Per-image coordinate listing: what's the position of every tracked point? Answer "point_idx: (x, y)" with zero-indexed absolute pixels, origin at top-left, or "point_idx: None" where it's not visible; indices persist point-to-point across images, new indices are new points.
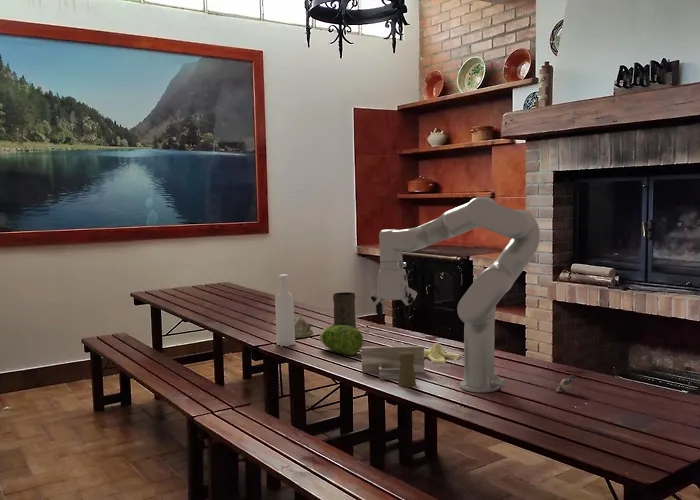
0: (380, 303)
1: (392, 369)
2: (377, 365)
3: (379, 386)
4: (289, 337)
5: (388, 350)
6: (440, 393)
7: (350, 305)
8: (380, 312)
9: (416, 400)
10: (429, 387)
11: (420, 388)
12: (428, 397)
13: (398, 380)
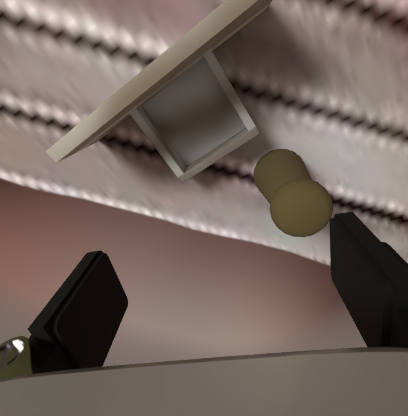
0: (59, 360)
1: (216, 160)
2: (127, 115)
3: (221, 220)
4: None
5: (143, 95)
6: (392, 192)
7: None
8: (111, 301)
9: None
10: (347, 162)
11: (326, 182)
12: None
13: (258, 188)
